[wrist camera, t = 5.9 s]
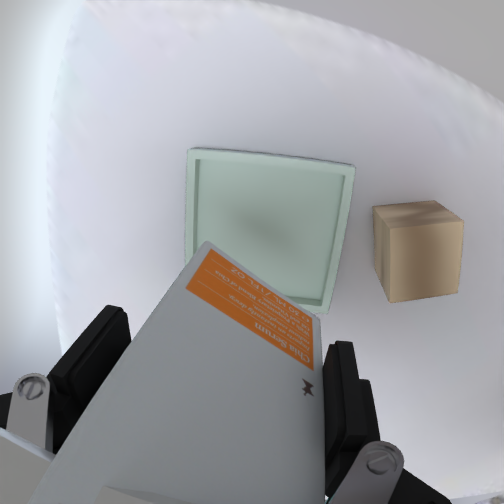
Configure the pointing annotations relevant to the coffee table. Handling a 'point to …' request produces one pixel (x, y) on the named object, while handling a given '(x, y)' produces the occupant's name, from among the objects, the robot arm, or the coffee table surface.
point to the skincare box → (206, 400)
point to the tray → (271, 217)
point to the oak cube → (417, 250)
